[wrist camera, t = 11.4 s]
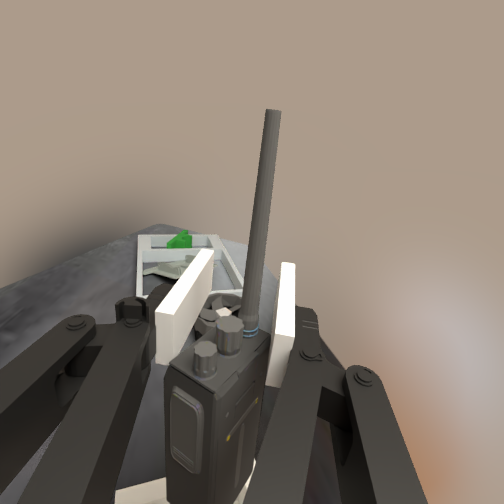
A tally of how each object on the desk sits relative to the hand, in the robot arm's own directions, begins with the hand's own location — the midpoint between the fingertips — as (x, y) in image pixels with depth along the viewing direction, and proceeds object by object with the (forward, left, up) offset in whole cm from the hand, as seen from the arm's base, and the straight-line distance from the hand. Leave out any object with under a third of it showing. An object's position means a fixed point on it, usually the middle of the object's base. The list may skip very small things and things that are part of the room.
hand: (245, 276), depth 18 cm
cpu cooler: (-24, +6, -26) cm, 36 cm away
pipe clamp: (-57, +3, -25) cm, 63 cm away
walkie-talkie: (+5, -2, -11) cm, 12 cm away
